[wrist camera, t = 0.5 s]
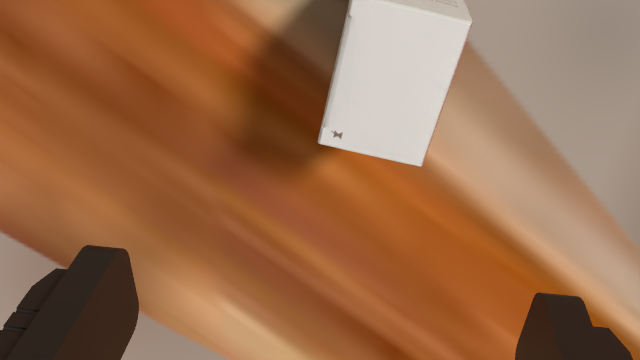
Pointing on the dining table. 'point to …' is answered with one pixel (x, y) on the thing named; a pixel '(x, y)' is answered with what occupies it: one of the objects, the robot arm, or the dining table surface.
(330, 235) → the dining table surface
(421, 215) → the dining table surface
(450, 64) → the small box
